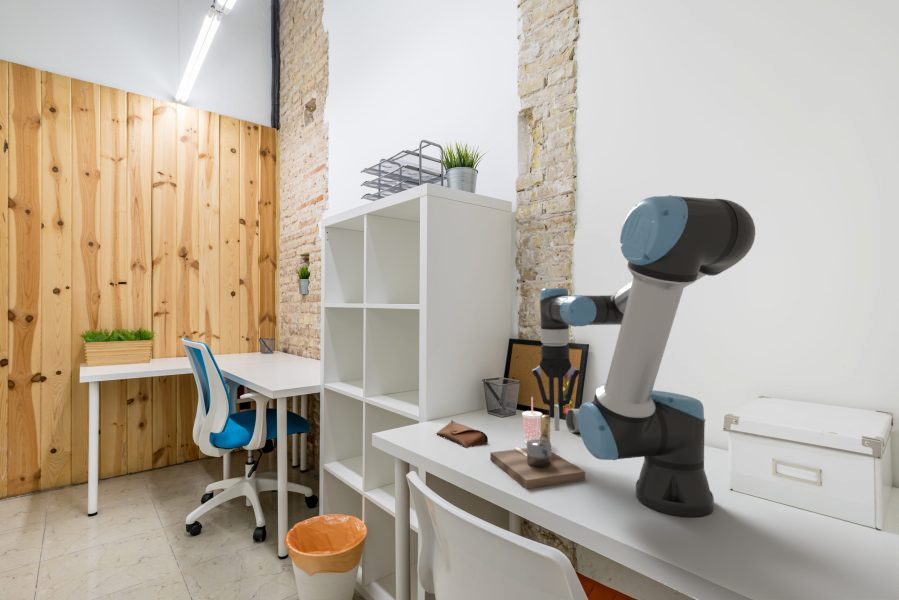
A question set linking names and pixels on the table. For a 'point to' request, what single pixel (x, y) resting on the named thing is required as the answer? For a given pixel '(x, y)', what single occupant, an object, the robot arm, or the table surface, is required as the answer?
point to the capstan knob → (540, 445)
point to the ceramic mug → (572, 420)
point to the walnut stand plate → (536, 469)
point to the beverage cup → (531, 424)
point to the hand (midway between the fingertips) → (556, 429)
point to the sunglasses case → (463, 435)
